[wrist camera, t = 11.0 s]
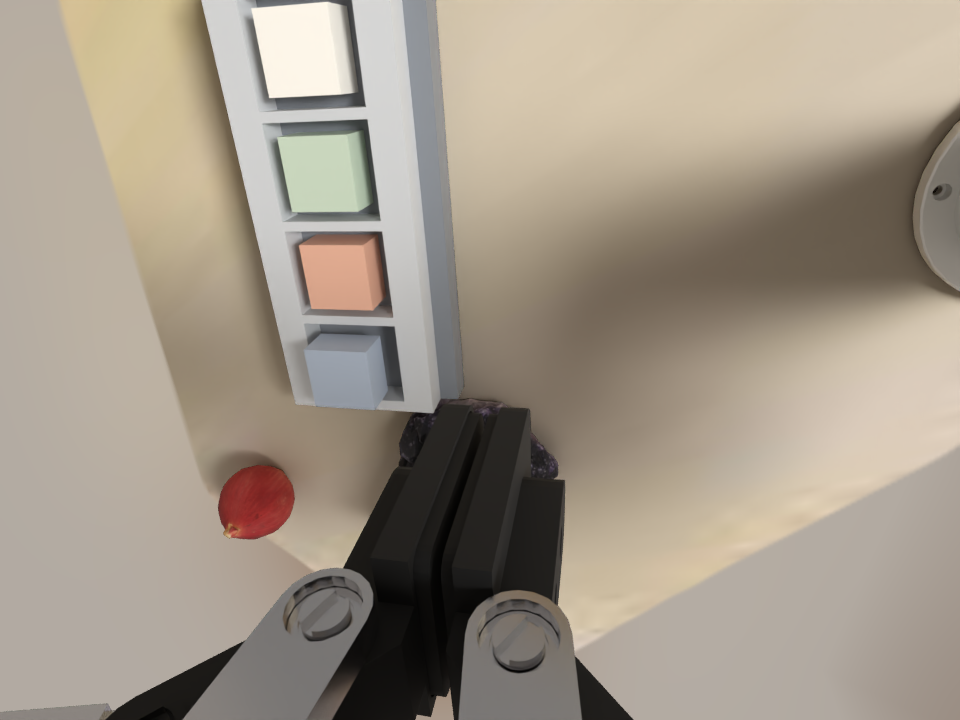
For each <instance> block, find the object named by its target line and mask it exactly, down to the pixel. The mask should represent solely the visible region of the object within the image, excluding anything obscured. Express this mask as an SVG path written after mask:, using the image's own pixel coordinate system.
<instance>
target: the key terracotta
mask: <svg viewBox="0 0 960 720" xmlns="http://www.w3.org/2000/svg"><path fill="white" fill-rule="evenodd" d="M299 249H300V254H301V259H302V264H303V269H304V274H305V279H306V284H307V289H308V294H309V299H310V304H311V309H334V310H371V311H373V310H374V309H375V308H376V307H377V306H378V305H379V303H380V302H381V301H382V300H383V299H384V298H385V297H386V292H385V284H384V277H383V270H382V262H381V255H380V247H379V240H378V234H317V235H315V236H313V237H312V238H310V239H308V240H307V241H305V242H303V243H302V244H300V245H299Z"/></svg>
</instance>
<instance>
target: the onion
mask: <svg viewBox="0 0 960 720" xmlns="http://www.w3.org/2000/svg"><path fill="white" fill-rule="evenodd" d="M294 500H295V498H294V490H293V486H292V484H291V482H290V480H289V479H288V478H287V476H286V475H285V474H284V472H283V471H282V470H280V469H277V468H274V467H272V466H263V465H256V466H252V467H248V468H244V469H241V470H240V471H238V472H237V473H236V474H234V475H233V476H232V477H231V478H230V479H229V480H228V481H227V482H226V484H225V485H224V486H223V489H222V491H221V494H220V499H219V504H218V511H219V516H220V520H221V523H222V525H223V526H224V528H225V531H224V533H223V534H224V535H225V536H226V537H228V538H229V539H230V538H239V539H258V538H260V537H263V536H266V535H268V534H271V533H273V532H275V531H276V530H278V529H279V528H280V527H281V526H282V525H283V524H284V523H285V522H286V520H287V519H288V518H289V516H290V514H291V511H292V508H293V504H294Z"/></svg>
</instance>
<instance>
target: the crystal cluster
mask: <svg viewBox="0 0 960 720" xmlns="http://www.w3.org/2000/svg"><path fill="white" fill-rule="evenodd" d="M443 404H459V405H472V407H473V410H474V413H482V415H483V421H484V428H485V425H486V422H487V419H488V416H489V414H499V410H500V408H501V407H507V405H505V404H504V403H503V402H500V403H495V402H491V401H479V400H474V399H471V398H470V399H465V400H449V399H442V398H441V399H440V401H439V403H438V405H437V407H436V409H435V411H434V413H421V412H415V413H414V414H412V416H411V417H410V419H409V421H408V423H407V426H406V428H405V429H404V431H403V434H402V438H401V440H400V443H399V447H400V455H401V459H400V461H399V466H400V467H412V468H413V466H414V464H415V462H416V459H417V457H418V455H419V453H420V451H421V449H422V447H423V445H424V443H425V441H426V438H427V436H428V434H429V432H430V430H431V428H432V426H433V424H434V422H435V420H436V417H437V415H438V413H439V411H440V409H441V407H442V405H443ZM557 476H558V463H557V461H556V459H555V458H554V457H553V456H552V455H550V454H549V453H547V451H546V450H545V448H544V447H543V446H542V445H541V444H540V443H539V442H538V440H537V438H536V437H535V436H534V434H533V433H531V477H532V478H544V479H554V478H556V477H557Z"/></svg>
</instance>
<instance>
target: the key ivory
mask: <svg viewBox="0 0 960 720" xmlns="http://www.w3.org/2000/svg"><path fill="white" fill-rule="evenodd" d="M251 9H252V14H253V19H254V24H255V29H256V34H257V39H258V44H259V49H260V54H261V59H262V64H263V69H264V74H265V79H266V84H267V89H268V94H269V98H283V97H302V96H321V95H341V94H349V93H357V92H358V84H357V77H356V69H355V62H354V55H353V47H352V40H351V32H350V25H349V18H348V10H347V6H344V5H340V4H335V3H330V2H319V3H307V4H296V5H284V6H273V7H261V8H251Z"/></svg>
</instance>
